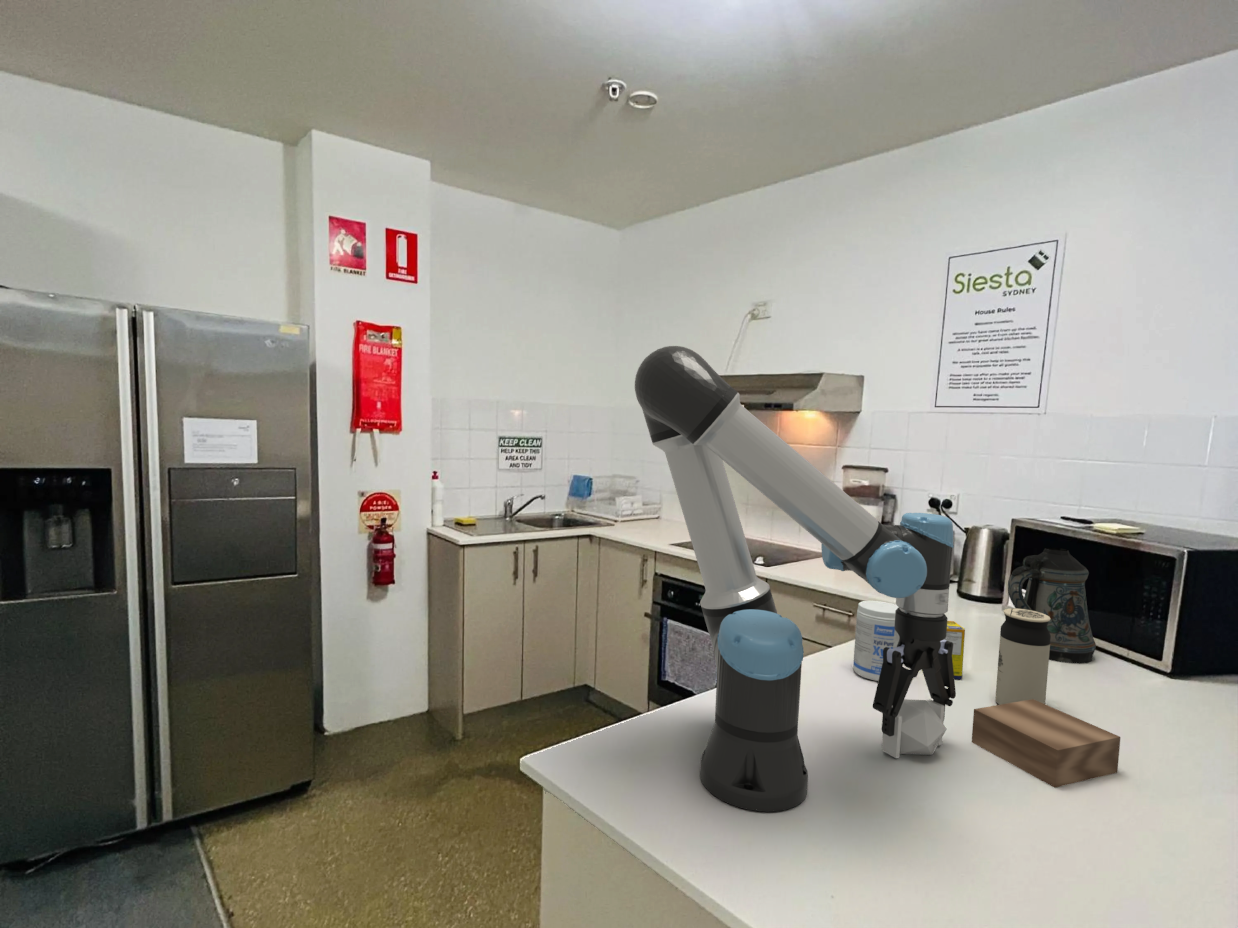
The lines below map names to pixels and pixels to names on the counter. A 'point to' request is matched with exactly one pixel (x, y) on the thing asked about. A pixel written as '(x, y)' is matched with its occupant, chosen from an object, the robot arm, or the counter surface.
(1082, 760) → the walnut block
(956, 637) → the supplement box
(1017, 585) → the beer stein
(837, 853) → the counter surface
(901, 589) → the robot arm
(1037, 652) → the travel mug
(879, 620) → the supplement tub
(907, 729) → the die
